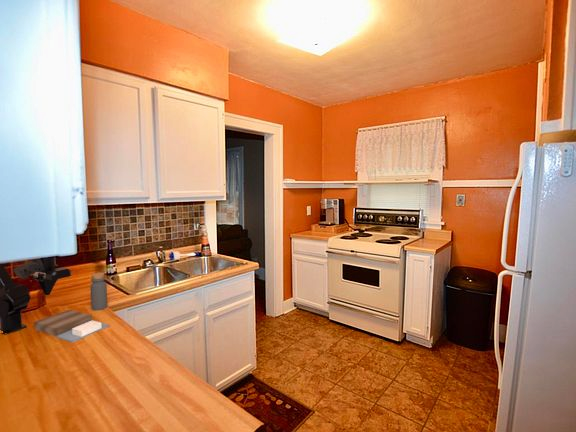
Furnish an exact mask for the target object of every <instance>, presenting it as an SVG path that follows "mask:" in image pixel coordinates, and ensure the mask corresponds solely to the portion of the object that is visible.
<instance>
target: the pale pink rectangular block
mask: <svg viewBox="0 0 576 432" xmlns="http://www.w3.org/2000/svg"><path fill="white" fill-rule="evenodd" d="M96 321H97V320H92V321H89V322H87V323H85V324H82V325H80V326H77V327H75V328H72V334H74V335H77V336H81V337H83V336H85V335H87V334H89V333H92V332H94V331H96V330H98V329H101V328H102V326H101V323H102V322H101V321H97V322H96ZM100 322H101V323H100Z"/></svg>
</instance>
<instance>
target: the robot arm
mask: <svg viewBox="0 0 576 432" xmlns="http://www.w3.org/2000/svg"><path fill="white" fill-rule="evenodd" d="M77 243H78V244H79V241H78V240H77ZM56 263H57V262H56V257H54V258H43V259H35V260H30V261H27V262H25V263H23V264H21V265H19V266H16V267H14V268H12V269H13V272H14V274H15V275H16V277H17V278H20V279H27V278H29V277H30V276H31V277H30V279H33V280H35V281H37V282H38V284H39V285H40V288H41V290H42V292H43V294H44V295H45V296H50V295H51V292H52V291H53V288H54V287H55V285H56V283H57V281H58V280H60V279H64V278H68V277H71V276H72V270H71V269H69V268H66V267H59V264H56ZM30 294H31V292H30V291H29V289H28V288H27V286H26V285H25V284H23V283H22V284H20V285H19V284H17V283H15V282H14V280H13V278H12V276H11V275H10V273H9V272H8V270H7V269H6V267H5V266H4V264H3V263H2V264H0V330H1V331H3V333H8V334H11V333H14V332H17V331H20V330H22V329H25V328H27V327H28V325H26V324H24V323H23V322H22V311H23V310H26V309H28V306H29V303H30V301H31V299H32V297H31V295H30Z"/></svg>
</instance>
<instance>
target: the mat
mask: <svg viewBox="0 0 576 432" xmlns="http://www.w3.org/2000/svg"><path fill="white" fill-rule="evenodd" d="M95 321H96V322H98V321H97V320H95ZM99 322H100V323H101V326H102V328H101V329H98V330H96V331H94V332H92V333H89V334H87V335H85V336H83V337H81V336H77V335H74V334H72V330H70V331H68V332H65V333H63V334H60V335H58V336H56V338H57V339H60V340H63V341H67V342H69V343H75V342H77V341H79V340H81V339H83V338H86V337H89V336H91V335H93V334H95V333H97V332H100V331H101V330H103V329H106V328H108V327H110V324H109V323H105V322H101V321H99Z"/></svg>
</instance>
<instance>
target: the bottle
mask: <svg viewBox="0 0 576 432" xmlns="http://www.w3.org/2000/svg"><path fill="white" fill-rule="evenodd" d="M105 280H106V276H105V272H99V271H98V272H95V273H92V274H91V279H90V281H91V282H92V283H91V284H90V286H89V288H90V306H91V307H90V308H91V310H92V311H100V310H104V309H106V308H108V289H107V288H108V287H107V282H106V281H105Z"/></svg>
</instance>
